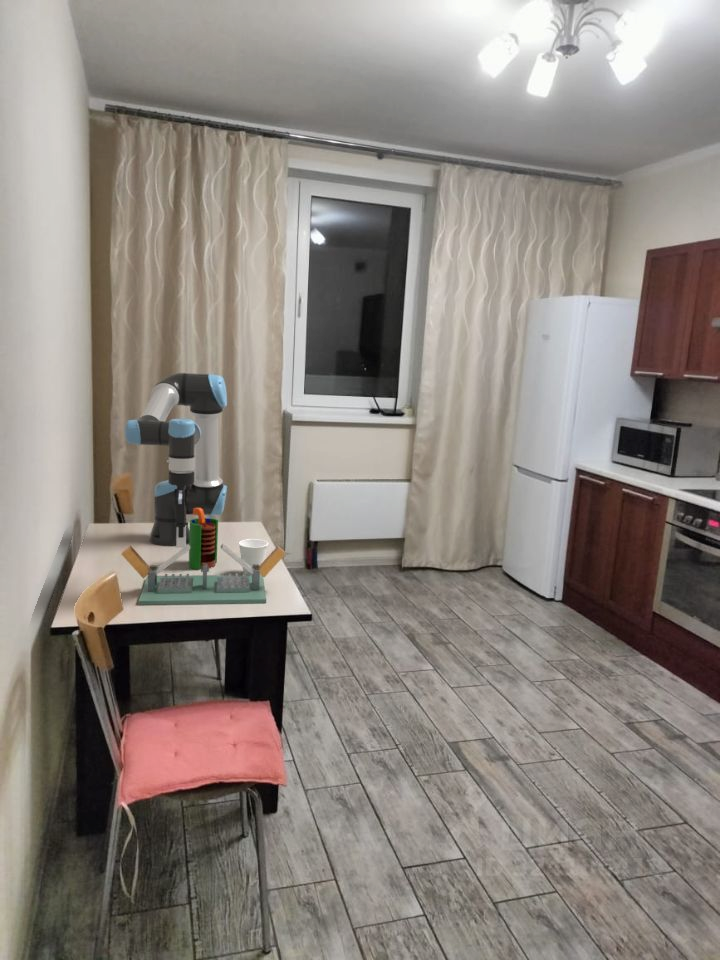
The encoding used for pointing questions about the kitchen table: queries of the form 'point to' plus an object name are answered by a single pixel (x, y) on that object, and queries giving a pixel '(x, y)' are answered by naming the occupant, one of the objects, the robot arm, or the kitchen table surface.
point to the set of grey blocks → (186, 583)
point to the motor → (202, 540)
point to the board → (203, 593)
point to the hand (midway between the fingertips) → (181, 546)
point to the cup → (253, 552)
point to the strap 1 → (143, 566)
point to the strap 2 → (266, 564)
